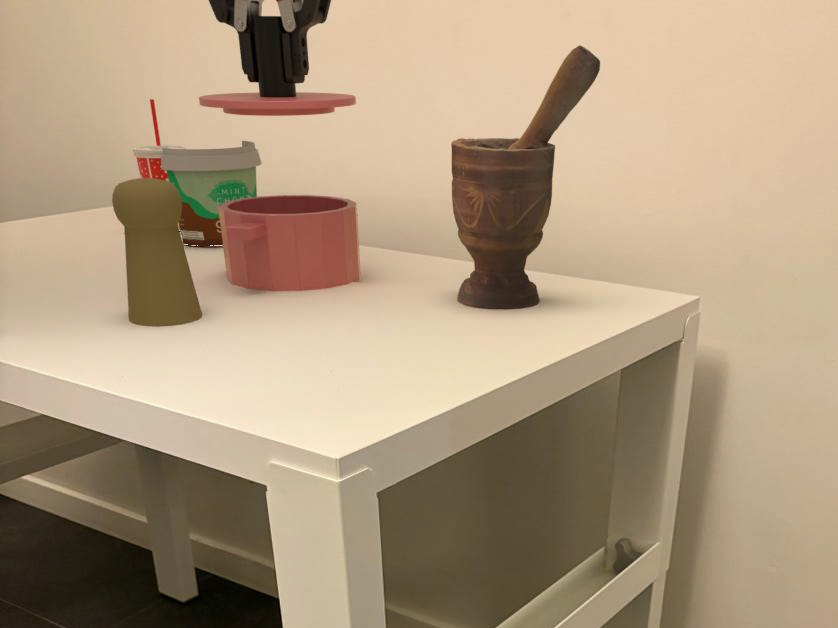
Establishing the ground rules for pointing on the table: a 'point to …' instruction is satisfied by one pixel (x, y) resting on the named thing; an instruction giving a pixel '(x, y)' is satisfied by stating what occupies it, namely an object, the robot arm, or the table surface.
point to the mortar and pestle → (512, 193)
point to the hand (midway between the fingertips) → (276, 81)
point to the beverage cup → (153, 155)
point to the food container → (209, 186)
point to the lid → (274, 82)
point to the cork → (155, 254)
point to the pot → (290, 242)
